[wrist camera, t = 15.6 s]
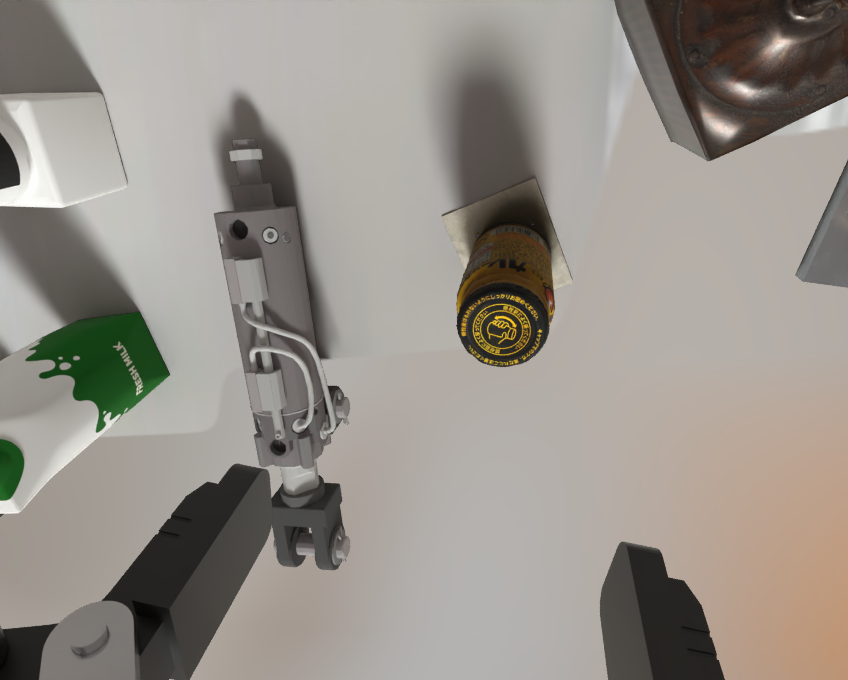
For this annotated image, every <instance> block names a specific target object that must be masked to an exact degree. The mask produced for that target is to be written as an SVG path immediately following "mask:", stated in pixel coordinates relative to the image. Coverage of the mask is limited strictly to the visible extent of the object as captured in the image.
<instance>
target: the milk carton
mask: <svg viewBox="0 0 848 680" xmlns="http://www.w3.org/2000/svg"><path fill="white" fill-rule="evenodd" d="M168 376H170V374H169V372H168V370H167V368H166V366H165V364H164V362H163V360H162V358H161V355H160V353H159V351H158V349H157V347H156V345H155V343H154V341H153V339H152V337H151V335H150V333H149V331H148V328H147V326H146V324H145V322H144V320H143V318H142V316H141V314H140V312H134V313H127V314H120V315H112V316H105V317H98V318H90V319H83V320H78V321H76V322H74V323H72V324H69V325H67V326H65V327H63V328H61V329H59V330H56V331H54V332H52V333H50V334H48V335H46V336H44V337H42V338H40V339H38V340H37V341H35V342H33V343H31V344H29V345H28V346H26V347H24V348H22V349H21V350H19V351H17V352H15V353H13V354H12V355H10V356H8V357H6V358H4V359H3V360H1V361H0V514H5V513H19V512H20V511H22V510H23V508H24V507H25V506H26V505H27V504H28V503H29V501H30V500H31V499H32V498H33V497H34V496H35V495H36V494H37V493H38V491H39V490H40V489H41V488H42V487H43V486H44V485H45V484H46V483H47V482H48V481H49V480H50V479H51V478H52V477H53V476H54V475H55V474H56V473H57V472H58V471H59V470H61V469H62V468H63V467H64V466H65V465H66V464H68V463H69V462H70V461H71V460H72V459H73V458H75V457H76V456H77V455H78V454H79V453H80V452H81V451H83V450H84V449H85V448H86V447H87V446H88V445H90V444H91V443H92V442H93V441H94V440H95V439H97V438H98V437H99V436H100V435H101V434H102V433H104V432H105V431H106V430H107V429H108V428H109V427H111V426H112V425H113V424H114V423H115V422H116V421H117V420H119V419H120V418H121V417H122V416H123V415H124V414H126V413H127V412H128V411H129V410H130V409H131V408H133V407H134V406H135V405H136V404H137V403H138V402H140V401H141V400H142V399H143V398H144V397H145V396H146V395H148V394H149V393H150V392H151V391H152V390H153V389H154V388H156V387H157V386H158V385H159V384H160V383H161V382H162V381H164V380H165V379H166V378H167V377H168Z"/></svg>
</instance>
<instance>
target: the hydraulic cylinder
mask: <svg viewBox="0 0 848 680" xmlns="http://www.w3.org/2000/svg"><path fill="white" fill-rule="evenodd" d="M232 145H233V150H234V151H229V153H230V159H231V161H235V162H236V167H237V173H238V179H239V184H240V185H239V186H231V188H232V193H233V199H234V205H235V209H234V211H225V212H218V213H214V217H215V223H216V228H217V233H218V238H219V243H220V248H221V254H222V259H223V264H224V269H225V274H226V280H227V285H228V290H229V295H230V300H231V305H232V311H233V316H234V321H235V326H236V331H237V337H238V342H239V347H240V352H241V357H242V362H243V368H244V373H245V377H246V383H247V388H248V393H249V398H250V404H251V410H252V411H253V417H254V423H255V428H256V431H257V434H255V435H254V439H255V443H256V448H257V454H258V459H259V464H260V466H261V467H267V466H269V465H272V464H273V465H275V466H278V467H280V469H281V475H282V480H283V483H282V485H281V487H280V488H279V490H278V491H277V492H276V493H275V495H274V496H273V497H272V498H271V500H272V513H273V519H272V528H273V533H274V538H275V540H274V550H275V552H276V553H277V559H278V561H279V563H280V564H281V565H283V566H289V567H297V566H299V565H301V564H302V562H303V561H304V559H305V557H306V555H307V556H315V561H316V565H317V566H318V568H320V569H322V570H336V569H338V567H339V565H340V563H341V562H342V559H343V562H344V563H345V562H346V557H347V556H348V553H349V549H350V539H349V537H347V536H345V530H344V527H343V523H342V517H341V510H340V504H341V502H342V496H341V489H340V484H335V483H324V481H323V478H322V477H321V476H320V475H318V470H317V463H316V459H317V458H318V457H319V456H320V455H321V454H322V452H323V446H325V445H327V444H330V443H331V437H330V434H333V432H334V431H335V429H336V428H337V427H338V425H339V424H340V422H341V421H342V419H343V420H344V424H346V422H347V424H349V422H348V419H347V416H348V414H349V410H350V403H349V400H348V398H347V397H344V394H343V392H342V390H341V389H340V388H339V387H338V386H328V385H327V382H326V378H325V374H324V371H323V367H322V364H321V360H320V358H319V356H318V354H317V348H316V342H315V335H314V328H313V321H312V314H311V307H310V301H309V294H308V287H307V280H306V273H305V267H304V260H303V253H302V246H301V239H300V232H299V226H298V219H297V212H296V206H280V207H276V206H275V204H274V198H273V191H272V185H271V183H269V184H264V183H263V182H262V176H261V169H260V163H259V160H262V159H263V156H262V150H261V149H257V144H256V140H255V139H242V140H233V141H232ZM322 387H323V388H322ZM308 527H309V528H311V530H312V533H309V528H308Z"/></svg>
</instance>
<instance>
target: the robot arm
mask: <svg viewBox="0 0 848 680" xmlns="http://www.w3.org/2000/svg"><path fill="white" fill-rule="evenodd" d="M272 519H273V513H272V500H271V489H270V477H269V472H268V471H267V470H266V469H261V468H256V467H251V466H246V465H241V464H234V465H233V466H232V467H231V468H230V469H229V470H228V471H227V473H226V474H225V475H224V477H223V478H222V479H221V481H220V482H219V484H216V483H211V482H206V483H205V484H203V485H202V486H201V487H199V488H198V489H196V490H195V491H193V492H192V493H191V494H189V495H187V496H186V497H185V499H184V500H183V501H182V502H181V503H180V505H179V506H178V507H177V508H176V510H175V511H174V512H173V513H172V515H171V518H170V519H168V520H167V521H166V522H165V523H164V525H163V526H162V527H161V529H160V530H159V533H158V534H157V535H155V536H154V537H153V539H152V540H151V541H150V542H149V544H148V545H147V546H146V547H145V549H144V550H143V551H142V552H141V554H140V555H139V556H138V557H137V559H136V560H135V561H134V562H133V564H132V565H131V566H130V567H129V569H128V570H127V571H126V572H125V574H124V575H123V576H122V577H121V579H120V580H119V581H118V582H117V584H116V585H115V586H114V587H113V589H112V590H111V591H110V592H109V593H108V595H107V596H106V597H105V598H104V599H103V600H102V601H100V602H96V603H91V604H89V605H86V606H83V607H81V608H79V609H78V610H76V611H74V612H73V613H71V614H69V615H68V616H67V617H66V618H64V619H63V620H62V621H61V622H60V623H58V624H52V625H42V626H32V627H22V628H12V629H2V628H1V626H0V680H169V679H174V680H190V678H191V676H192V674H193V672H194V671H195V669H196V667H197V665H198V663H199V662H200V660H201V658H202V656H203V654H204V652H205V650H206V649H207V647H208V645H209V644H210V642H211V640H212V638H213V636H214V635H215V633H216V631H217V629H218V627H219V626H220V624H221V622H222V620H223V618H224V617H225V615H226V613H227V611H228V609H229V608H230V606H231V604H232V602H233V600H234V599H235V597H236V595H237V593H238V591H239V590H240V588H241V586H242V584H243V582H244V581H245V579H246V577H247V575H248V573H249V571H250V570H251V568H252V566H253V564H254V563H255V561H256V559H257V557H258V555H259V554H260V552H261V550H262V548H263V546H264V545H265V543H266V541H267V538H268V536H269V533H270V529H271V525H272ZM600 617H601V626H602V633H603V642H604V649H605V658H606V665H607V674H608V680H725V679H724V675H723V672H722V669H721V666H720V663H719V660H717V658H716V655H717V654H716V650H715V647H714V644H713V641H712V638H711V637H710V631H709V628H708V625H707V621H706V618H705V615H704V612H703V609H702V606H701V604H700V603H699V601H698V600H697V599H696V597H695V596H694V594H693V593H692V591H691V590H690V589H689V587H688V586H687V584H686V583H685V582H684V581H682V580H678V579H673V578H668V575H667V571H666V567H665V564H664V560H663V556H662V554H661V552H660V550H659V549H656V548H652V547H647V546H642V545H637V544H632V543H627V542H621V543H620V544H619V546H618V548H617V550H616V553H615V556H614V558H613V561H612V563H611V566H610V569H609V571H608V574H607V576H606V579H605V582H604V584H603V587H602V592H601V599H600Z"/></svg>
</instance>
